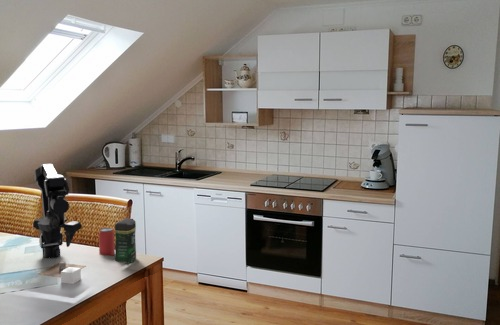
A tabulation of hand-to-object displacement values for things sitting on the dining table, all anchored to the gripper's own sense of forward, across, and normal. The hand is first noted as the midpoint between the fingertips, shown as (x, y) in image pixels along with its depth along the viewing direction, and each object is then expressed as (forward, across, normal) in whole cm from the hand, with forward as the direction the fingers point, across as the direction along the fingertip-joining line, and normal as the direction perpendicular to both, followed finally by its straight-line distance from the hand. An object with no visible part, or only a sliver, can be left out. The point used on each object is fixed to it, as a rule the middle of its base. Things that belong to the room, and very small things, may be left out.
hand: (58, 245), depth 181 cm
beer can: (+12, +7, +24) cm, 28 cm away
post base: (+12, +2, 0) cm, 12 cm away
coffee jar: (+12, +19, +20) cm, 30 cm away
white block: (+12, +12, -8) cm, 18 cm away
